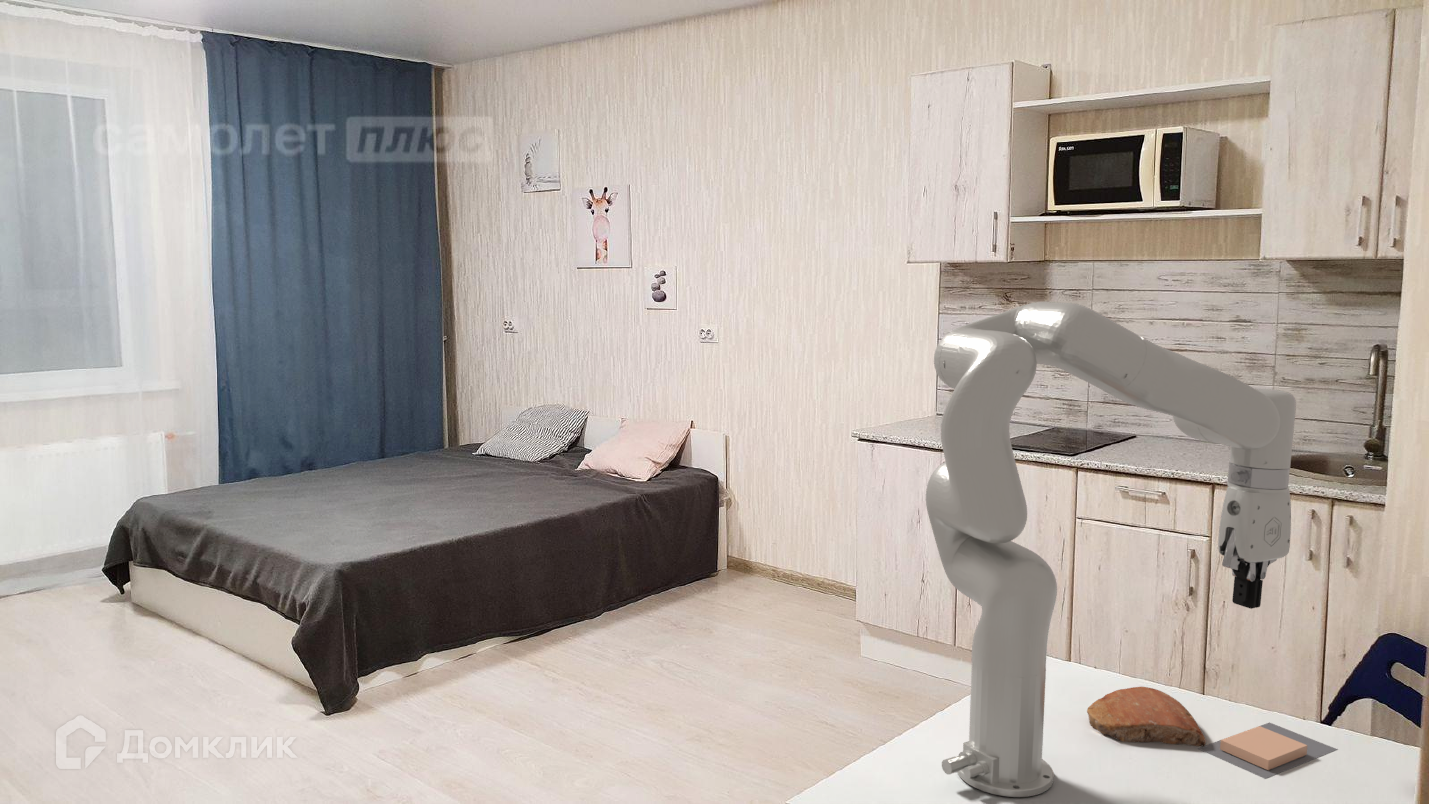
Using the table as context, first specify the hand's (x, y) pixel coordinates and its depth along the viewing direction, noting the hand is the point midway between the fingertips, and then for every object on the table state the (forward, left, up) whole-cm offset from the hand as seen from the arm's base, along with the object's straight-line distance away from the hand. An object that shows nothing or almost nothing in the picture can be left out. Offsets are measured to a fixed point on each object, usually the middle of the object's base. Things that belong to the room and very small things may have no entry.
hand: (1246, 605), depth 145 cm
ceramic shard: (-8, +11, -21) cm, 25 cm away
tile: (+4, -4, -19) cm, 20 cm away
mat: (+1, -4, -21) cm, 21 cm away
